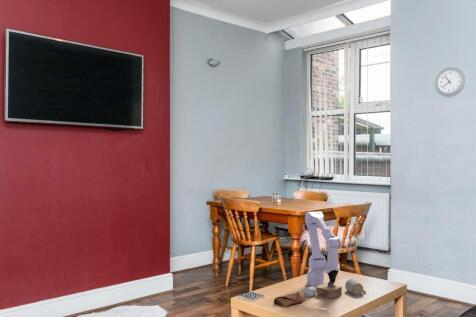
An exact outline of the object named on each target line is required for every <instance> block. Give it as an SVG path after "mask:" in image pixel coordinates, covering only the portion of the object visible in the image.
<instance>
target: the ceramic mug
mask: <svg viewBox="0 0 476 317" xmlns="http://www.w3.org/2000/svg"><path fill="white" fill-rule="evenodd" d="M344 287H345V290H346V291H347V292H348V293H350V294H352V295H354V296H360V295H362V294H366V292H367V291H366V290H365V289H364V286H363V285H362V284H361V282H359V281H357V280H356V279H355V278H349V279H348V280H346V282H345V286H344Z"/></svg>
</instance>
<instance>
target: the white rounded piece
mask: <svg viewBox="0 0 476 317" xmlns="http://www.w3.org/2000/svg"><path fill="white" fill-rule="evenodd" d="M302 292H303V294H302V295H303V296H304V297H308V298H311V297H313V296H316V295H317V288H316V286H311V285H309V286H308V287H306V288H305V289H303V291H302Z"/></svg>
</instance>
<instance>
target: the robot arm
mask: <svg viewBox="0 0 476 317" xmlns="http://www.w3.org/2000/svg"><path fill="white" fill-rule="evenodd" d="M324 219H325V218H324V213H323V212H322V211H307V212H306V213H305V216H304V220H305V226H306V227H307V229H308V234H309V235H308V236H309V242H310V247H311V255H310V257H309V258H308V268H309V269H308V271H307V274H306V285H307V286H308V285H309V286H313V287H315V288H316V287H317V286H319V285H321V284H323V283H325V276H324V274H325V273H326V274H327V276H328V279H329V282H334V284H335V283H336V279H337V276H338V274H339V270H340V269H341V268H340V267H341V265H340V264H339V248H340V246H341V239H340V238H339V237H338V236H336V235H335V234H334V233H333V231H332V230H331V228H329V227H328V226H327V224H326V222H325V220H324ZM318 227H319V229H320V230H321V235H322V237H323V238H324V240H325V246H326V251H327V259H326V256H325V255H323V253H322V252H321V246H320V242H319V241H320V240H319V234H318Z"/></svg>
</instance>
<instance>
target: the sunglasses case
mask: <svg viewBox="0 0 476 317" xmlns="http://www.w3.org/2000/svg"><path fill="white" fill-rule="evenodd" d="M304 302H307V299H305V298H304V297H303V296H302V295H301V294H300V292H299V291H297V292H295V293H291V294H285V295H283V296H282V295H281V296H277V297H274V300H273V304H274V305H275V306H278V307H281V308H284V309H285V308H286V309H287V308H289V307H293V306H297V305H299V304H300V305H301V304H304Z"/></svg>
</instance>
